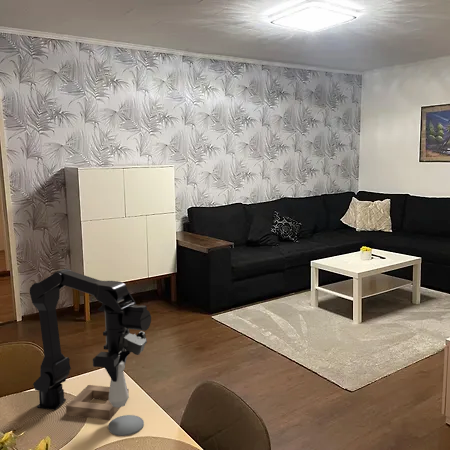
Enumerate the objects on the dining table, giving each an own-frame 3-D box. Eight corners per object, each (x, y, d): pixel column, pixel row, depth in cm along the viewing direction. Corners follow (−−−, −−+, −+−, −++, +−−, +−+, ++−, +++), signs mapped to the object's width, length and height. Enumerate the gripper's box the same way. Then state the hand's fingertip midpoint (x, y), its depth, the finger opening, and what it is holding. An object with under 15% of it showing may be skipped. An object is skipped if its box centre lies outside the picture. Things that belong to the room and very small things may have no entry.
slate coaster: (102, 433, 130) (102, 431, 130) (117, 415, 140) (117, 413, 140) (135, 437, 129) (135, 435, 128) (148, 418, 138) (148, 416, 138)
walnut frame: (66, 415, 140) (65, 405, 140) (88, 393, 154) (88, 384, 153) (109, 420, 137) (109, 410, 137) (128, 397, 151) (128, 388, 151)
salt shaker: (124, 410, 134) (122, 366, 132) (105, 408, 135) (103, 365, 133) (132, 400, 139) (130, 358, 138) (114, 398, 140) (112, 357, 139)
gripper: (129, 339, 124) (131, 395, 125) (153, 317, 142) (154, 367, 144) (90, 337, 126) (93, 392, 128) (118, 316, 144) (120, 364, 146)
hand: (117, 378), depth 136 cm, fingers closed on salt shaker, 4 cm apart
